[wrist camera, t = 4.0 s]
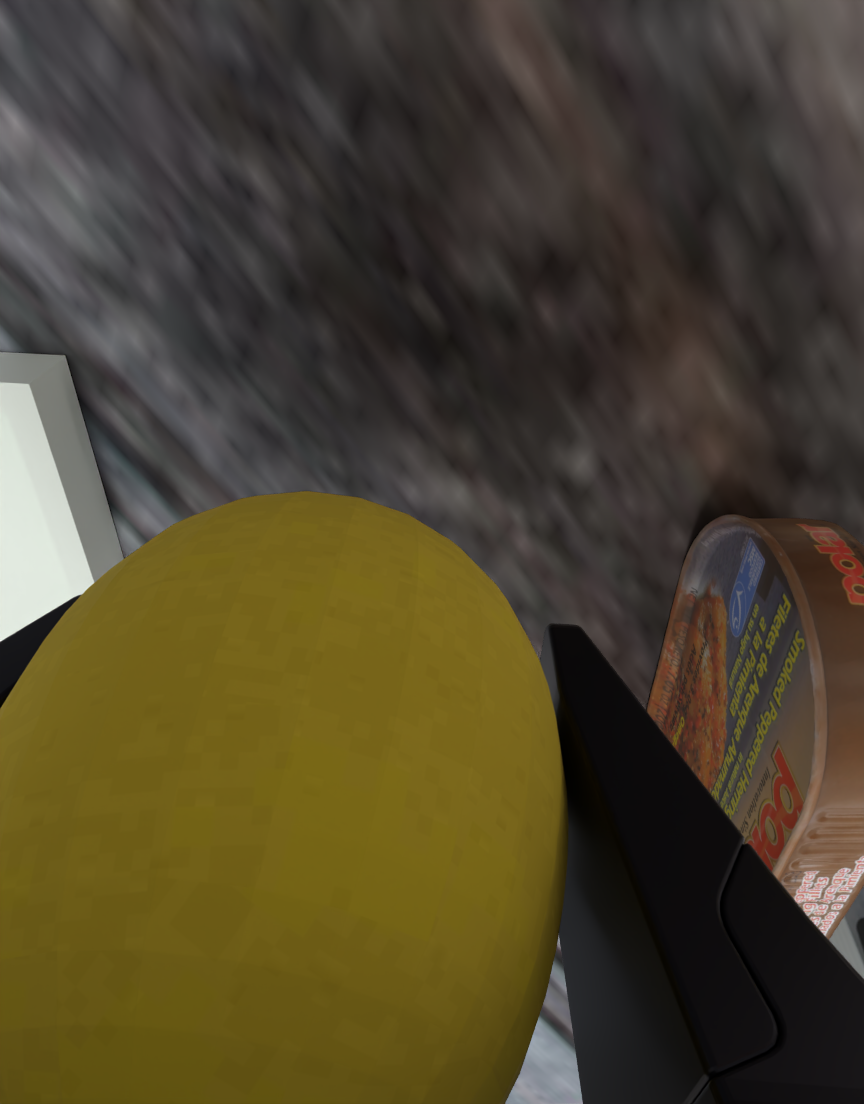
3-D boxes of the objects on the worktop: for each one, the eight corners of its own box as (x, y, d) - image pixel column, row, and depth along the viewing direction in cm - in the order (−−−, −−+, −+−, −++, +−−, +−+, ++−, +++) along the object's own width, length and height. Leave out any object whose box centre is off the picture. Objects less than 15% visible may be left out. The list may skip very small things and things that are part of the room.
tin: (709, 453, 19) (834, 693, 12) (831, 456, 19) (1027, 700, 12) (623, 793, 28) (667, 1039, 21) (705, 797, 28) (775, 1047, 21)
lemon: (102, 570, 11) (-444, 1345, 4) (291, 283, 8) (-416, 1229, 2) (390, 729, 13) (294, 1442, 6) (622, 539, 10) (869, 1458, 4)
